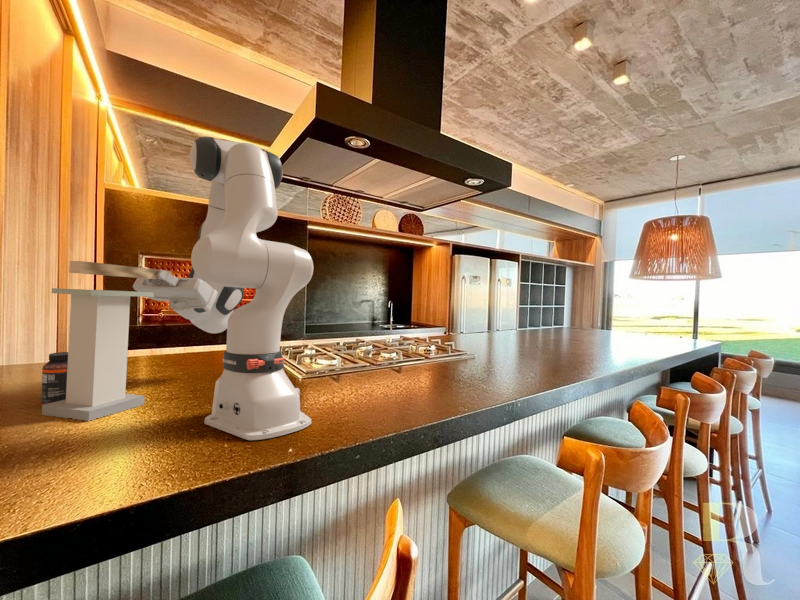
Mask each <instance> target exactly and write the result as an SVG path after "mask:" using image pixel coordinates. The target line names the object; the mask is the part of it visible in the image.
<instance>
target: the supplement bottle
mask: <svg viewBox="0 0 800 600" xmlns="http://www.w3.org/2000/svg"><path fill="white" fill-rule="evenodd" d="M67 367H68V351H65V352H63V351H62V352H60V351H59V352H53V353H49V354H48V362H46V363H45V364H44V365H43V366H42V369H41V370H42V374H41V396H40V398H41V399H40V401H41V402H40V403H41V406H42V405H44V404H48V403H53V402H57V401H61V400H65V399H66V387H67Z"/></svg>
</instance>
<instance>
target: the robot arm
mask: <svg viewBox="0 0 800 600" xmlns="http://www.w3.org/2000/svg"><path fill="white" fill-rule="evenodd" d="M189 161H190V164H191V166H192V169H193V172H194V174H195V175H196V176H197V177H198V178H200V179H202V180H205V181H207V182H211V184H210V189H209V194H208V195H209V196H208V206H207V207H208V208H207V214H206V218H205V220H204V221H203V222H202V224H201V225H200V227H199V231H198V235H197V239H196V240H197V241H196V243H195V244H194V246H193V248H192V251H191V257H190V261H191V266H192V267H191V270H190V272H189V275H188V276H187V277H177V276H175V275H173V274H172V275H170V274H167V273H166V272H165V271H164V269H157V272H156V273H155V276H156V277H158V278H159V279H162V280H158V279H145V278H135V279H136V280H135V281H134V283H133V285H132V289H133V290H135V292H152V293H154V297H147V298H148V299H151V300H153V301H158V302H161V301H162V302H168V305H169V309H171V310H172V311H174V312H175V313H177V314H178V315H179V316H181V317H183V318H184V319H186V320H189V321H190V323H191V324H192V325H193V326H195V327H197V328H198V329H200V330H202V331H204V332H206V333H209V334H219V333H223V332H224V331H226V348H225V351H224V352H223V357H222V368H223V372H222V373H221V375H220V376H219V377H218V379H217V380H216V381H215V384H214V392H213V398H212V400H213V401H212V408H211V414H208V415H207V416H205V418H204V423H203V424H205V425H207V426H208V427H209V426H210V427H211V428H214V429H218V430H219V431H223V432H226V433H227V434H231V435H233V436H236V437H238V438H241V439H244V440H247V441H259V440H267V439H272V438H276V437H281V436H285V435H288V434H291V433H294V432H298V431H302V430H303V429H305V428H307V427H309V426H310V425H311V424H312V418H311V417H309V416H308V415H307V414H306V413H304V412H303V411H301V398H300V397H301V390H300V388H299V387H295V386H294V385H293V383H292V382H291V380H290V379H289V377H288V375H287V374H286V372H285V370H284V367H285V364H286V362H285V361H284V360H286V357H284V356H283V353H282V350H281V338H282V336H281V335H282V327H283V320H284V316H285V313H286V309H287V308H288V306H289V304H290V303H291V300H292V299H294V296H296V294H297V293H299V291H301V290H302V289H303V288H306V286H307V285H308V284H309V282H310V281H311V280H312V277H313V275H314V268H315V267H314V261H313V258H312V256H311V255H310V253H309V252H308V251H307V250H306V249H303V248H301V247H298V246H296V245H293V244H290V243H286V242H278V241H274V240H273V241H271V240H266V239H261V238H259V237H258V236H257V233H259V232H262V231H265V230H267V229H269V228H271V227H272V226H273V225H274V224H275V223H276V221H277V219H278V216H279V211H278V202H277V196H276V195H277V194H276V193H277V192H276V190H277V189H278V188H279V187H280V185H281V182H282V179H283V175H284V173H283V164H282V162H281V158H280V157H279V156H278V155H276V154H274V153H273V152H270V151H268V150H263V149H262V148H261V147H259V146H257V145H256V144H252V143H248V142H237V141H231V140H226V139H217V138H214V137H213V136H199V137H198V138H197V139H195V140H194V143H192V146H191V149H190V152H189ZM245 288H246V289H256V290H255V293H254V296H253V298H252V300H251V301H249V302H248V303H246V304H243V305H241V306H239V305H240V303H241V302H242V300H243V299H244V297H245V296H244V295H245ZM237 307H238V308H237Z"/></svg>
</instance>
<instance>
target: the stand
mask: <svg viewBox="0 0 800 600" xmlns="http://www.w3.org/2000/svg"><path fill="white" fill-rule="evenodd" d="M51 294H61V295H70V311H69V331H68V348H67V349H68V351H67V352H68V367H67V387H66V399H65V400H61V401H57V402H53V403H48V404H44V405H42V404H41V415H42V416H48V417H54V416H55V418H61V417H63V419H68V418H72V419H71V420H75V419H78V420H77V421H81V420H86V421H85V422H88V421H89V422H91V421H90V420H92V421H94V419H95V420H97V419H96V418H99V419H101V418H100V417H102V418H104V417H103V416H105V417H107V415H108V416H111V415H110V414H112V415H115V414H119V413H121V412H124V410H125V411H127V409H128V410H131V409H134V408H138V407H141V406H144V405H145V395H143V394H142V395H141V394H140V395H139V394H132V393H126V391H127V390H126V389H127V372H128V370H127V367H128V350H129V349H128V347H129V331H130V330H129V329H130V313H131V312H130V309H131V307H130V306H131V297H144V298H146V297H147V298H148V297H154V293H152V292H138V291H133V290H132V291H129V290H110V289H109V290H106V289H105V290H104V289H81V288H79V289H78V288H77V289H76V288H57V287H56V288H51ZM114 413H115V414H114Z"/></svg>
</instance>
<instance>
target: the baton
mask: <svg viewBox="0 0 800 600" xmlns="http://www.w3.org/2000/svg"><path fill="white" fill-rule="evenodd" d="M157 270H158V269H157V268H148V267H139V266H138V267H137V266H129V265H128V266H127V265H119V264H111V263H110V264H109V263H103V262H102V263H101V262H94V261H93V262H92V261H83V260H69V271H68V273H70V274H84V275H94V276H96V275H97V276H110V277H121V278H122V277H123V278H132V279H137V278H145V279H158V280H162V279H159V278H158V277H156V276H155V273H156V272H157ZM163 270H164V269H163ZM164 271H165V272H166V273H167V274H170V275H172V276H173V271H172V270H166V269H165V270H164Z"/></svg>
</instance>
